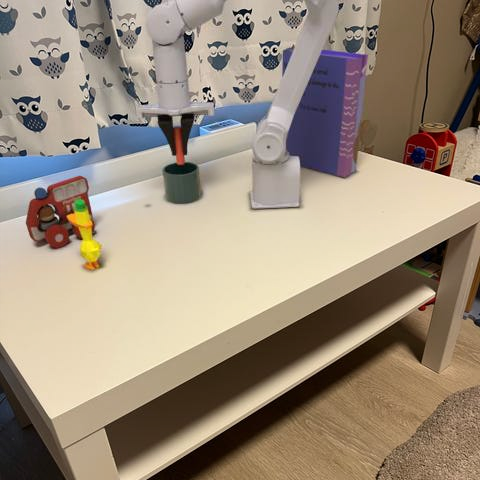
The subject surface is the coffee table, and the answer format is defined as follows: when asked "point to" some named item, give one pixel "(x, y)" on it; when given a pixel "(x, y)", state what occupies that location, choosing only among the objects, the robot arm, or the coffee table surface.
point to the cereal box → (329, 113)
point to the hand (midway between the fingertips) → (179, 153)
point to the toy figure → (85, 234)
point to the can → (182, 182)
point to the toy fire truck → (57, 211)
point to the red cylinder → (179, 145)
